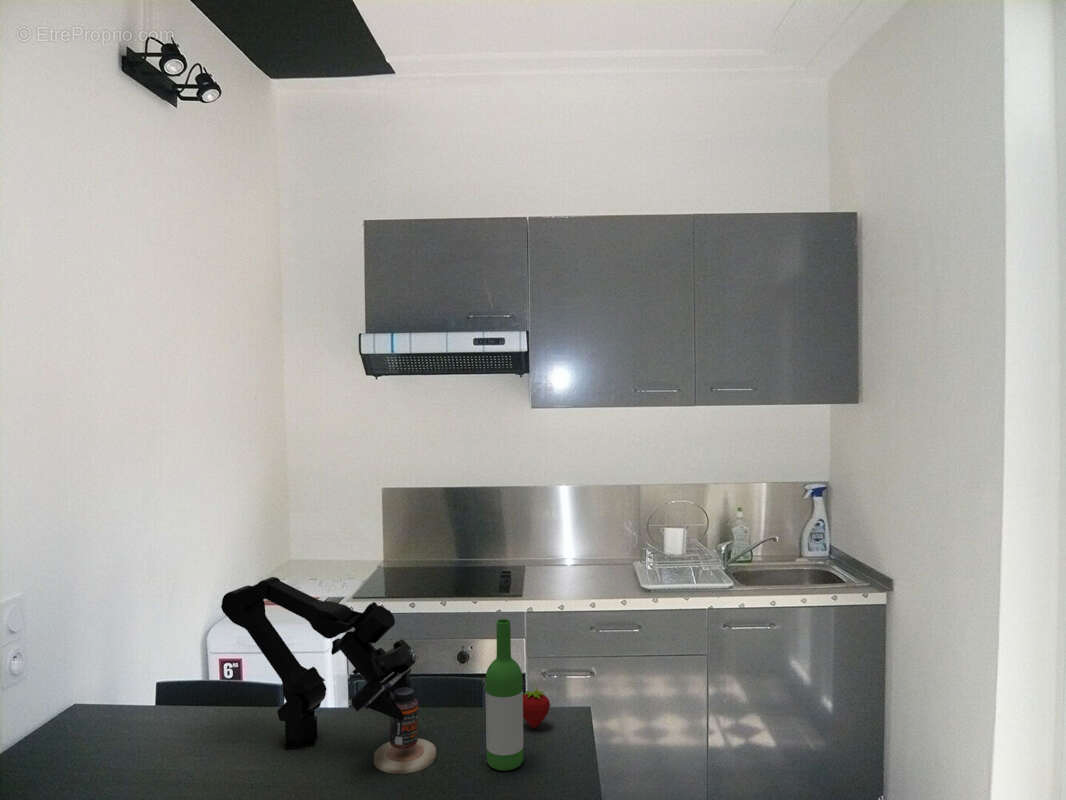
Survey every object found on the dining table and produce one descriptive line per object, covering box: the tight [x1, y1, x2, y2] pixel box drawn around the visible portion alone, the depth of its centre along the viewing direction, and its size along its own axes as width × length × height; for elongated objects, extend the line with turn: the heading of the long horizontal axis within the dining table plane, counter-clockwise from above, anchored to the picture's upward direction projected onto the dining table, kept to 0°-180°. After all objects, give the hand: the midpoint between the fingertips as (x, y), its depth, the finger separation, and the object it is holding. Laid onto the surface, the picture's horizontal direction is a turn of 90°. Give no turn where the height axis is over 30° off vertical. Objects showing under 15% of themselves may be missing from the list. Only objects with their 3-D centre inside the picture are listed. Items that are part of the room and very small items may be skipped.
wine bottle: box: [485, 618, 524, 771], centre depth 154 cm, size 8×8×30 cm
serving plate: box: [373, 737, 437, 775], centre depth 157 cm, size 13×13×1 cm
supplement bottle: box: [389, 687, 419, 749], centre depth 157 cm, size 6×6×11 cm
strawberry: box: [523, 683, 551, 729], centre depth 170 cm, size 6×8×10 cm
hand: (409, 713), depth 156 cm, fingers closed on supplement bottle, 6 cm apart
